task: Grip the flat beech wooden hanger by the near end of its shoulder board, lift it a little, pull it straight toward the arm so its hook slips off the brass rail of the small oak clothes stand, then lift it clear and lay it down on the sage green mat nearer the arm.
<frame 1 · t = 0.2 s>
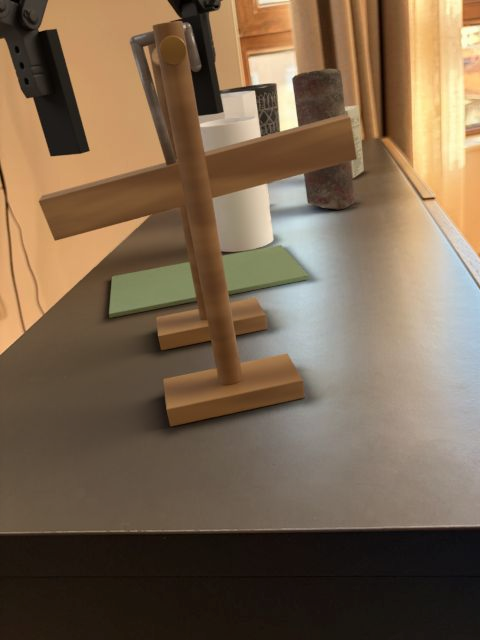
hand: (145, 132, 43), 19 cm above the sideboard, tool pointing down, fingers open, 13 cm apart
hanger: (200, 177, 49), point 15 cm above the sideboard, tilted 7°, touching rail stand
cosmetic box: (348, 176, 122), on the sideboard
container: (228, 212, 108), on the sideboard
rail stand: (221, 359, 55), on the sideboard
planter: (256, 182, 130), on the sideboard
candle: (330, 207, 101), on the sideboard
cup: (244, 244, 88), on the sideboard
mat: (204, 279, 76), on the sideboard
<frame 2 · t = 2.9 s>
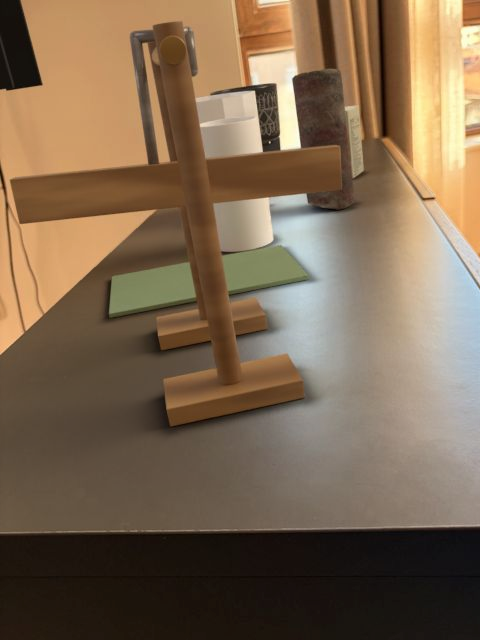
hand: (10, 90, 44), 23 cm above the sideboard, tool pointing down, fingers open, 13 cm apart
hanger: (181, 183, 48), point 15 cm above the sideboard, touching rail stand
everything else where it was.
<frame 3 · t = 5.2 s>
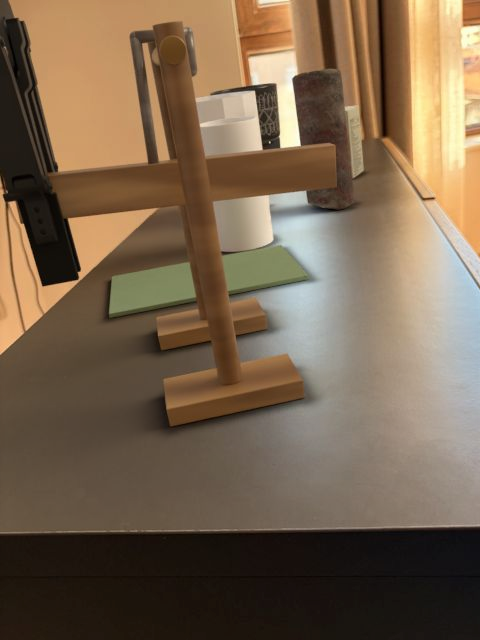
hand: (62, 277, 50), 10 cm above the sideboard, tool pointing down, fingers closed on hanger, 2 cm apart
hanger: (180, 182, 48), point 15 cm above the sideboard, touching gripper, rail stand
everything else where it was.
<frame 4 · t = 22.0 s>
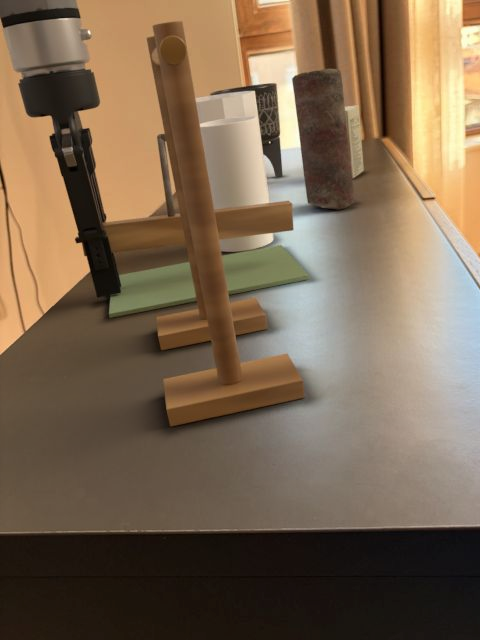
hand: (109, 290, 74), 1 cm above the sideboard, tool pointing down, fingers closed on hanger, 2 cm apart
hanger: (189, 227, 73), point 6 cm above the sideboard, touching gripper
everything else where it was.
when the fingers open (2 cm above the sideboard, at t = 23.4 s): hanger drops 5 cm, resting on mat.
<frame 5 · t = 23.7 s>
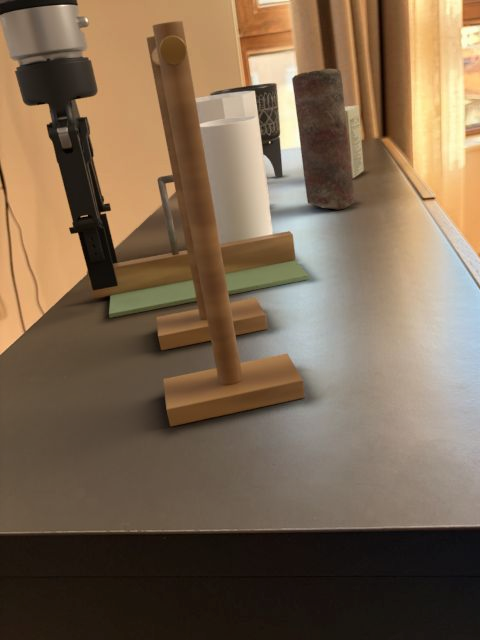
hand: (106, 277, 73), 2 cm above the sideboard, tool pointing down, fingers open, 6 cm apart
hanger: (193, 264, 75), point 2 cm above the sideboard, touching mat
everything else where it was.
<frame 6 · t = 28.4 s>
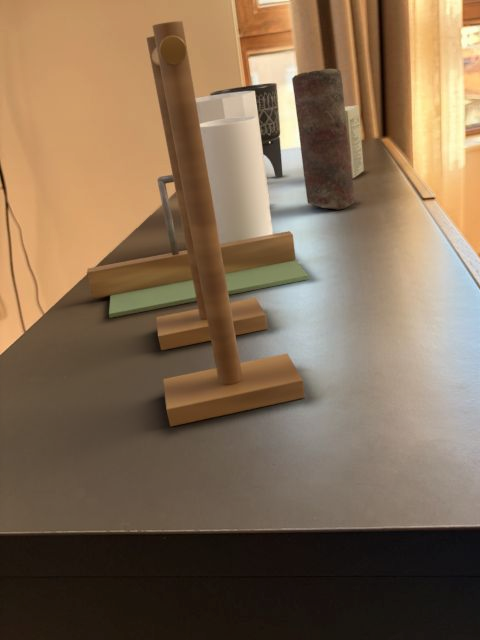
nothing on the sideboard moved.
at the end: hanger inside the target area on the mat (0.9 cm from its centre), point 2.1 cm above the mat's base; hanger touching mat; the gripper is holding nothing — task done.
